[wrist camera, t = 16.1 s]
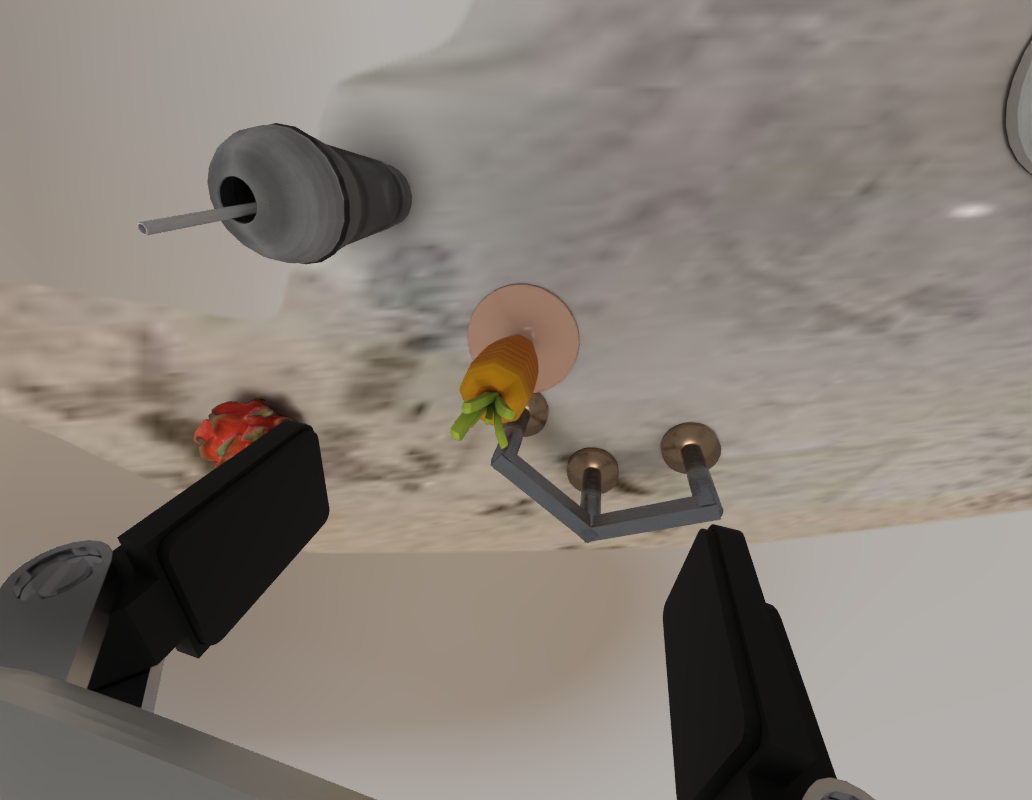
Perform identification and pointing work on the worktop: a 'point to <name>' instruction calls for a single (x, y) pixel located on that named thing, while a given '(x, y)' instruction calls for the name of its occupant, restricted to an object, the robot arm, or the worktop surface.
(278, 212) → the beverage cup
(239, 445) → the dragon fruit
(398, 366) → the worktop surface
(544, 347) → the terracotta coaster
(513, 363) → the carrot
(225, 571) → the robot arm
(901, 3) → the worktop surface
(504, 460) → the grey cabinet handle
